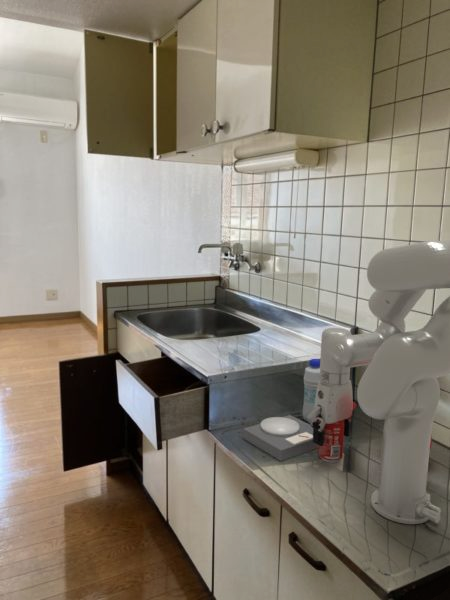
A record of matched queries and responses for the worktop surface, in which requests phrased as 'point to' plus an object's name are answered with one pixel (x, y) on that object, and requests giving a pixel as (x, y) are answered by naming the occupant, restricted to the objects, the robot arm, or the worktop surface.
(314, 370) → the bottle
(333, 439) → the beverage can
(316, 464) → the worktop surface
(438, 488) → the worktop surface
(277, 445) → the scale
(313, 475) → the worktop surface
